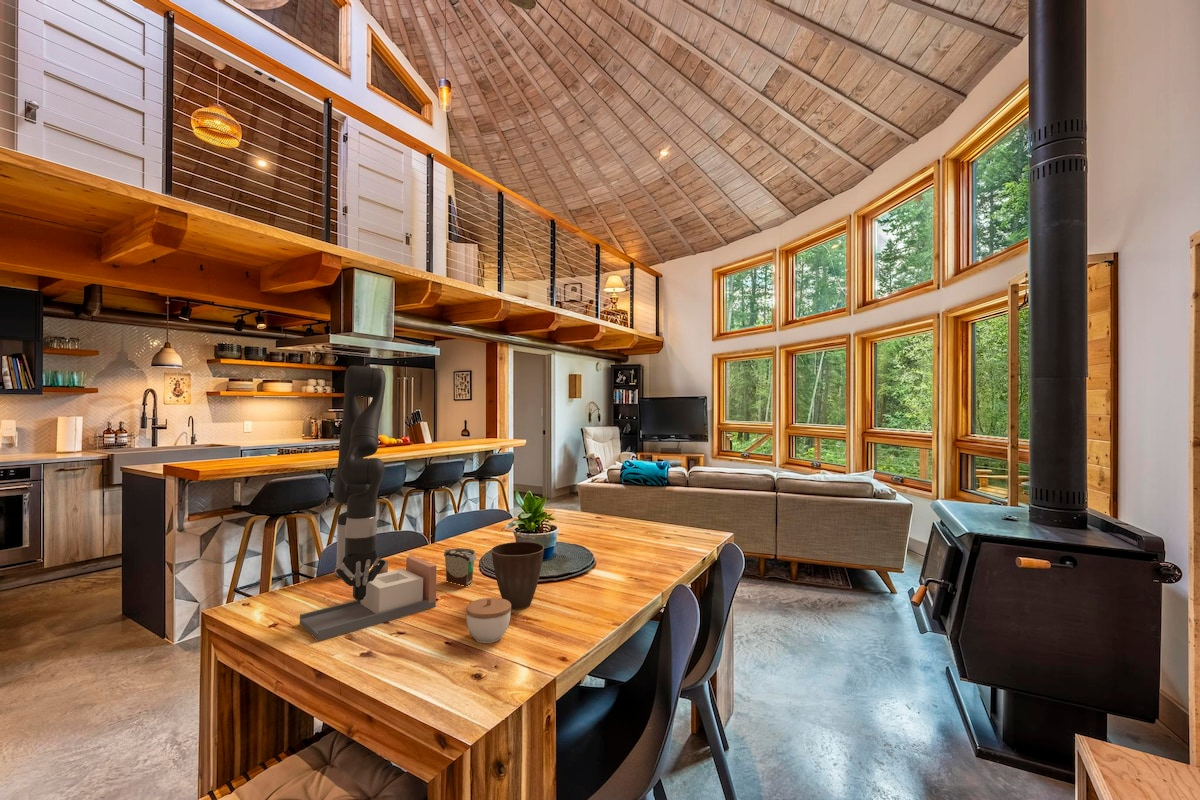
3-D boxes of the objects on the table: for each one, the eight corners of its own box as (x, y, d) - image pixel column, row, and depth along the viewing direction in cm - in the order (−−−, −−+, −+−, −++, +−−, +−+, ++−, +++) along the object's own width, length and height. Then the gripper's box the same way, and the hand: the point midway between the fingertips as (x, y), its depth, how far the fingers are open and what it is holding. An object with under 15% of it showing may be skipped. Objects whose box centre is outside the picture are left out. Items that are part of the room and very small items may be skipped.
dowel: (370, 595, 147) (371, 561, 148) (383, 592, 150) (384, 558, 151) (376, 599, 145) (376, 564, 145) (389, 595, 148) (390, 561, 148)
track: (299, 624, 126) (301, 578, 127) (411, 594, 148) (412, 555, 149) (318, 641, 117) (320, 592, 117) (435, 606, 139) (436, 565, 139)
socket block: (360, 603, 137) (361, 578, 137) (402, 592, 145) (403, 568, 146) (379, 615, 128) (379, 588, 129) (422, 603, 137) (423, 577, 137)
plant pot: (496, 618, 131) (497, 557, 132) (485, 599, 145) (486, 544, 146) (550, 610, 138) (551, 552, 138) (534, 592, 151) (535, 539, 152)
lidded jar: (463, 632, 123) (463, 593, 123) (506, 625, 127) (506, 588, 127) (468, 651, 113) (469, 609, 113) (514, 643, 117) (515, 603, 117)
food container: (484, 582, 160) (484, 551, 160) (469, 588, 154) (470, 555, 155) (457, 576, 166) (458, 546, 167) (443, 581, 161) (443, 550, 161)
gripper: (380, 527, 139) (378, 589, 138) (329, 535, 129) (327, 602, 129) (391, 531, 134) (390, 596, 133) (339, 540, 124) (337, 610, 123)
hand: (359, 599), depth 131 cm, fingers closed
